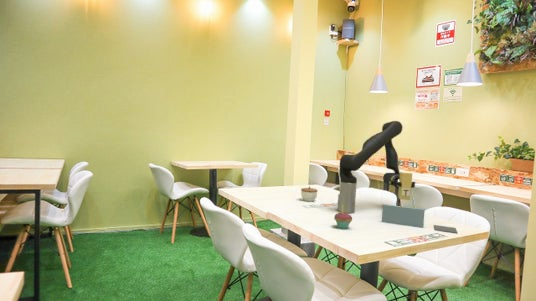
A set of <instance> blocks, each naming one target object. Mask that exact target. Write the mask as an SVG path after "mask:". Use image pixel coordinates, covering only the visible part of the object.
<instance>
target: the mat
mask: <svg viewBox="0 0 536 301" xmlns="http://www.w3.org/2000/svg"><path fill="white" fill-rule="evenodd" d="M433 229H434V231H437V232H444V233H445V232H446V233H451V234H452V233H453V234H458V230H457V228H456V227H452V226H443V225H436V224H433Z"/></svg>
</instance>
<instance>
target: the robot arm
mask: <svg viewBox="0 0 536 301" xmlns="http://www.w3.org/2000/svg"><path fill="white" fill-rule="evenodd" d="M402 131H403V123H401V122H400V121H398V120H393V121H389V122H385V123H383V125H382V128H381V131H379V132H377V133H376V134H373V135H371V136H369V138H367V139H366V140H364V143H363V144H362V149H361V150H360V151H359V152H358V153H357V154H347V153H345V154H343V155H341V157H340V159H339V179H340V180H339V181H340V183H339V194H337V209H336V210H337V211H338V212H339V213H341V212H342V203H343V212H345V213H348V214H355V211H356V197H357V196H356V195H357V182H358V180H357V177H356V176H354V175H353V173H352V172H356V171H359V169H360V168H361V167H363V165H364V164H365V163H366V162H367V161H368V160H369V159H370V158H372V156H374V155H376V153H378V152H379V151H380V150H381V149H382V148H383V147H384V148H385V149H384V150H385V167H386V169H387V170H392V171H393V172H385V173H384V175H383V176H382V180H383V183H385V185H389V186H392V187H394V188H396V189H398V190H399V187H402V183H401V182H399V180H400V172H401V171H400V169H399V156H398V153H397V150H396V149H395V147H394V145H393V139H394V138H396V137H397V136H399V135H401V133H402ZM415 187H416V182H415V181H412V184H411V189H414V188H415Z"/></svg>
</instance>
